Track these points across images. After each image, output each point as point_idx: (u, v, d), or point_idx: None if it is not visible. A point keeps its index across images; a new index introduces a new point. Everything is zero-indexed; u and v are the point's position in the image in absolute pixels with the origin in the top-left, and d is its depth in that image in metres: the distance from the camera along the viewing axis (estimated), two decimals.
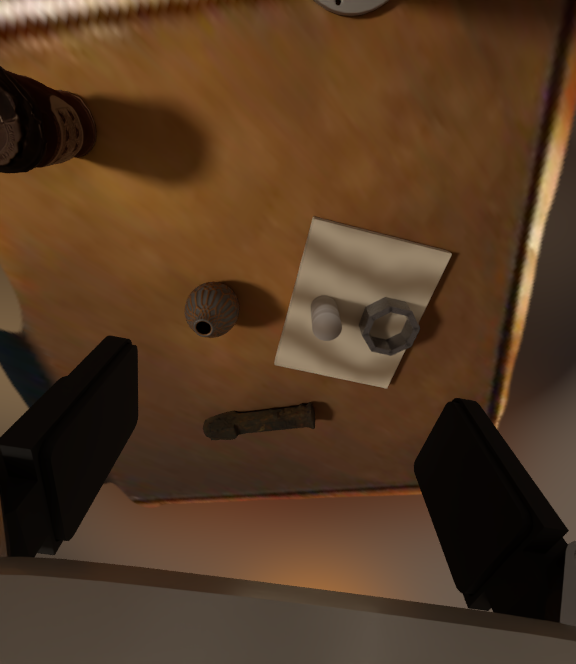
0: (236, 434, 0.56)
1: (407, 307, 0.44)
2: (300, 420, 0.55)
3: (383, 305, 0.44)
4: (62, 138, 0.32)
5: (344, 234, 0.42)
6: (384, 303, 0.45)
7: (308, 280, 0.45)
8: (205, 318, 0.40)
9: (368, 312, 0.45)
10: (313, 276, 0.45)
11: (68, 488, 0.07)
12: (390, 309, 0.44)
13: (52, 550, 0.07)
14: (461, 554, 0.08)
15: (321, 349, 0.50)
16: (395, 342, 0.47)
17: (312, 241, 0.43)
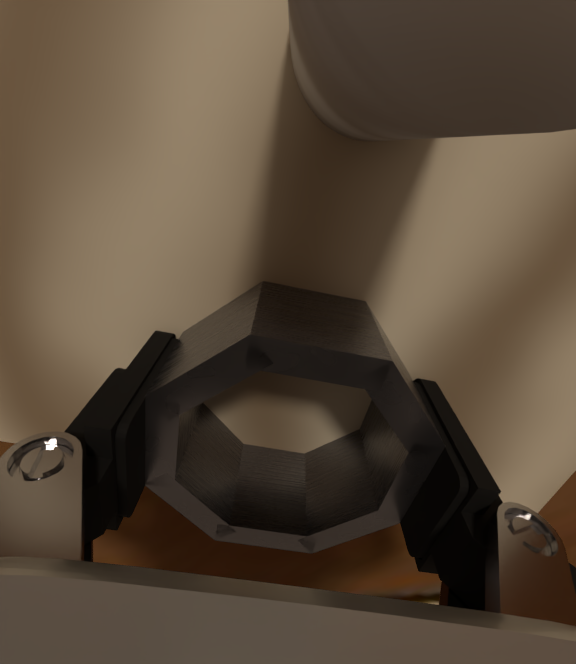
0: None
1: None
2: None
3: (421, 402, 0.09)
4: None
5: None
6: (417, 393, 0.09)
7: None
8: None
9: (380, 335, 0.08)
10: None
11: (133, 468, 0.08)
12: (426, 450, 0.08)
13: (116, 525, 0.08)
14: (414, 521, 0.09)
15: (46, 56, 0.07)
16: (210, 461, 0.10)
17: None
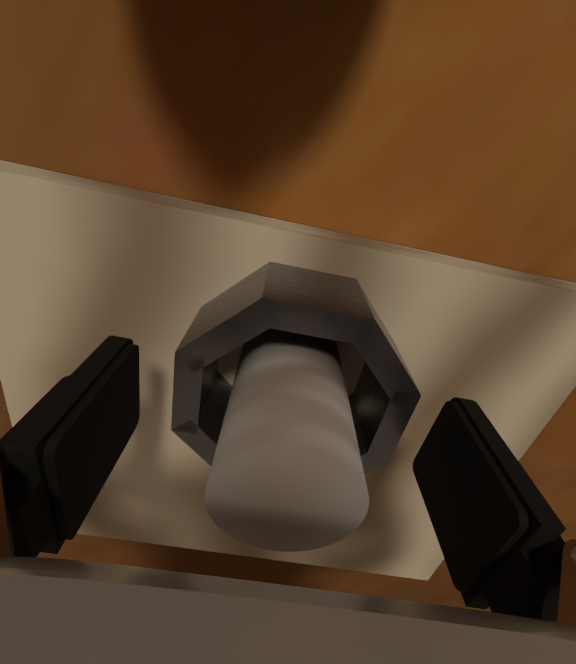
0: None
1: None
2: None
3: (402, 360, 0.10)
4: None
5: (545, 394, 0.13)
6: (400, 355, 0.11)
7: (400, 300, 0.12)
8: None
9: None
10: (415, 316, 0.12)
11: (71, 487, 0.07)
12: (404, 397, 0.10)
13: (55, 549, 0.07)
14: (460, 552, 0.08)
15: None
16: None
17: (555, 304, 0.12)
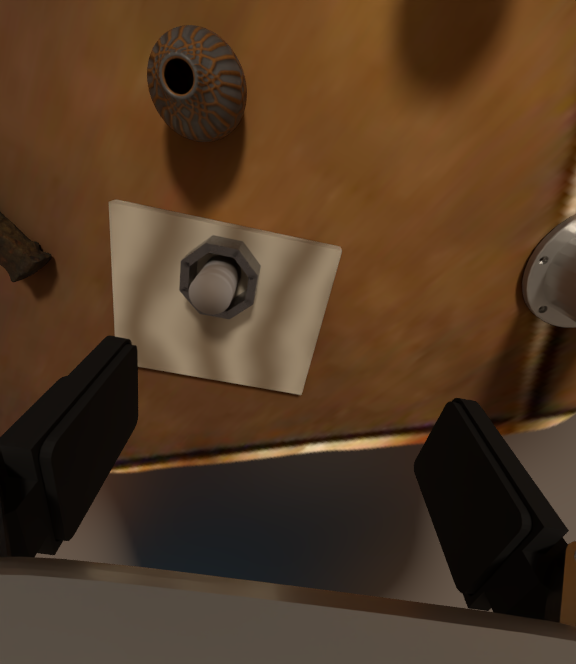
0: None
1: (254, 297, 0.33)
2: (8, 253, 0.32)
3: (254, 266, 0.32)
4: None
5: (322, 288, 0.35)
6: (256, 266, 0.32)
7: (259, 249, 0.33)
8: (199, 84, 0.21)
9: (240, 247, 0.31)
10: (266, 255, 0.33)
11: (68, 488, 0.07)
12: (252, 276, 0.31)
13: (52, 550, 0.07)
14: (462, 554, 0.08)
15: (156, 274, 0.34)
16: None
17: (314, 250, 0.33)
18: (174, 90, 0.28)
